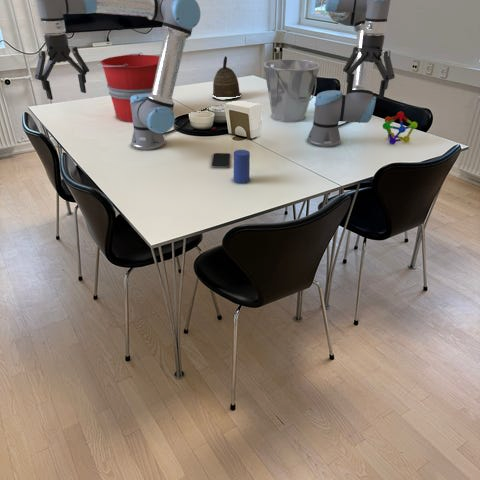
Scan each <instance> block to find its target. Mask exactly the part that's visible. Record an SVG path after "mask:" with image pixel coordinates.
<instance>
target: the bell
mask: <svg viewBox="0 0 480 480" xmlns="http://www.w3.org/2000/svg"><path fill="white" fill-rule="evenodd" d="M227 63H228V57H227V56H224V58H223V63H222V67H221V68H219V69H218V70H217V71H216V73H215V75H214V78H213V81H212V83H213V84H212V95H214V96H216V97H236V96H240V95H241V96H242V93H241V92H240V83H239V80H238V79H239V78H238V77H237V75H236V73H235V72H234V70H232V69H231V68H230V67H227Z"/></svg>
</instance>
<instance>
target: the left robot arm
mask: <svg viewBox="0 0 480 480" xmlns="http://www.w3.org/2000/svg"><path fill="white" fill-rule="evenodd" d="M36 4H37V9H38V13H39V18H40V23H41V24H40V25H41V29H42V32H43V34H44V36H43V37H44V42H45V47H46V50H42V49H41V50H40V49H39V50H38V59H37V65H36V69H35V75H34V79H35V80H38V81H40V82H41V86H42V89H43V91H45V94H46V98H47V100H51V101H53V100H54V98H53V97H54V96H53V92H52V88H51V84H50V80H48V79H49V76H50V74H51V72H52V70H53V69H54V66H55V65H56V64H59V63H62V62H63V63H66V62H67V63H69V65H71V67H72V68H73V69H75V71H76V72H77V73H78V74H77V78H78V84H79V89H80V93H83V94H87V89H86V83H87V79H86V76H87V73H89V72H90V68H89V67H88V65H87V64H86V62H85V60H84V59H83V58H82V56H81V54H80V53H79V49H78V47H77V46H74V45H73V46H72V45H71V46H70V47H69V40H68V35H67V34H66V32H67V29H66V24H65V18H64V15H76V14H77V15H80V14H81V15H82V14H87V15H88V14H95V13H96V14H107V15H119V16H120V15H121V16H132V17H143V18H144V17H145V18H147V20H149V21H158V22H160V23H161V22H162V26H161V27H162V29H163V30H164V35H163V39H162V45H161V49H160V52H159V56H160V57H159V62H158V66H157V71H156V75H155V80H154V84H153V89H152V92H151V93H145V94H137V95H133V96H131V98H130V101H131V103H130V104H131V111H132V118H133V122H132V125H133V132H132V135H131V142H130V143H131V147H132V148H134V149H135V150H141V151H151V150H153V151H154V150H157V149H161V148H163V147H164V146H165V144H166V140H165V137H164V135H167V134H170V133H173V132H176V131H177V130H179V129H181V128H182V127H183V126H184V125H185V124H187V122H189V121H190V119H188V118H187V119H188V120H187V119H186V120H187V121H186V120H185V121H186V122H185V121H184V122H185V123H184V122H182V123H181V124H182V125H181V124H180V125H181V126H180V125H179V126H180V127H179V126H177V127H178V128H177V127H175V128H173V126H174V125H175V121H176V116H175V113H174V111H173V110H174V107H175V102H174V100H173V94H174V90H175V87H176V82H177V79H178V75H179V70H180V65H181V62H182V57H183V53H184V49H185V44H186V41H187V39H188V38H190V37H191V36H192V32H193V29H194V28H195V27H197V25H198V24H199V22H200V20H201V7H200V6H199V3H198V1H197V0H36ZM71 54H72V55H73V57H74V58H75V60H76V61H77V62H76V61H75V60H74V59H73V58H72V57H71V56H70V55H71ZM47 57H48V60H47V59H46V58H47ZM46 60H47V63H46ZM45 64H46V65H45ZM204 108H205V109H204ZM204 108H202V109H203V110H202V109H200V110H201V112H203V111H206V110H208V109H207V108H208V107H207V108H206V107H204ZM172 128H173V129H172Z"/></svg>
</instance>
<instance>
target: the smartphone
mask: <svg viewBox="0 0 480 480" xmlns="http://www.w3.org/2000/svg"><path fill="white" fill-rule="evenodd" d="M230 160H231V154H230V153H229V152H215V153H213V155H212V162H211V167H212V168H214V169H215V168H219V169H220V168H221V169H225V168H226V169H228V168H229V167H230Z"/></svg>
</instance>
